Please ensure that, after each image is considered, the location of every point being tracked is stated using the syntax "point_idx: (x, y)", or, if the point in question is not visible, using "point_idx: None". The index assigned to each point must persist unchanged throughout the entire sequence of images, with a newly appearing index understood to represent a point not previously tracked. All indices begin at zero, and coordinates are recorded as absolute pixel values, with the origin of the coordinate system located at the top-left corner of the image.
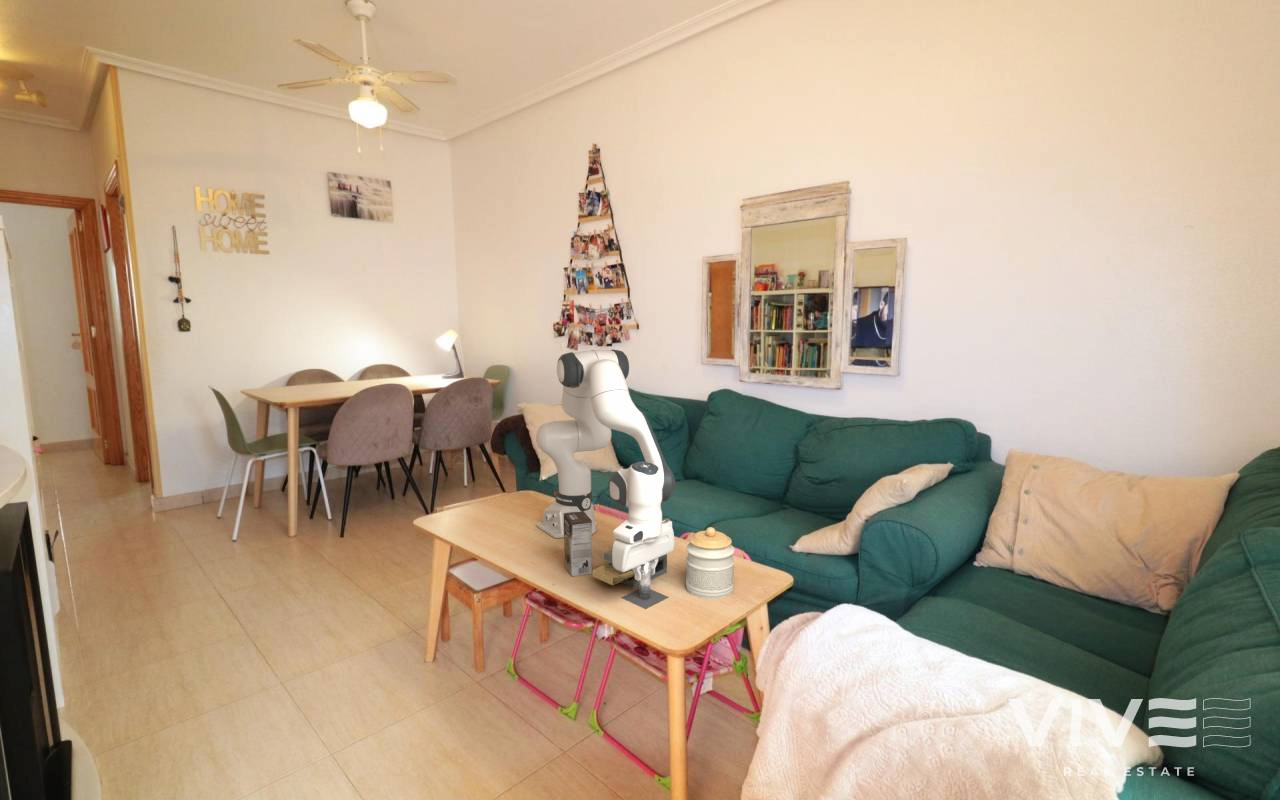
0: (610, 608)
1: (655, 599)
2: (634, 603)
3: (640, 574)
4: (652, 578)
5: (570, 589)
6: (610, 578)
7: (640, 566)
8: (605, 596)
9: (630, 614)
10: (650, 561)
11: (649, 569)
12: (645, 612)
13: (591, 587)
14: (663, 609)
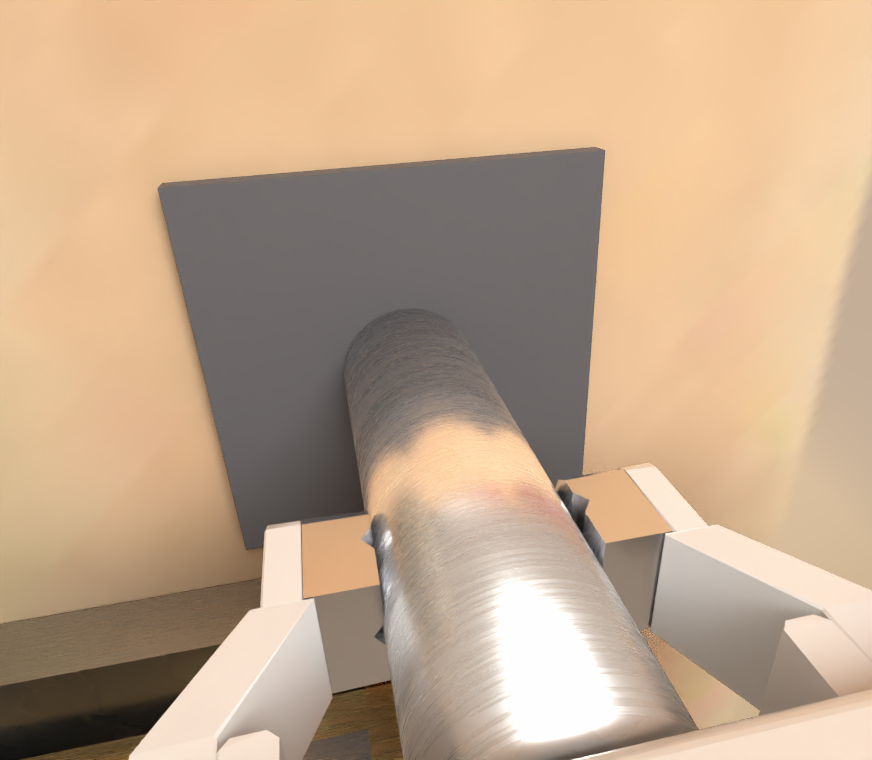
0: (749, 406)
1: (352, 255)
2: (583, 331)
3: (686, 529)
4: (55, 634)
5: None
6: None
7: (820, 660)
8: None
9: (742, 203)
10: (502, 753)
11: (504, 565)
12: (618, 124)
13: None
14: (416, 15)
